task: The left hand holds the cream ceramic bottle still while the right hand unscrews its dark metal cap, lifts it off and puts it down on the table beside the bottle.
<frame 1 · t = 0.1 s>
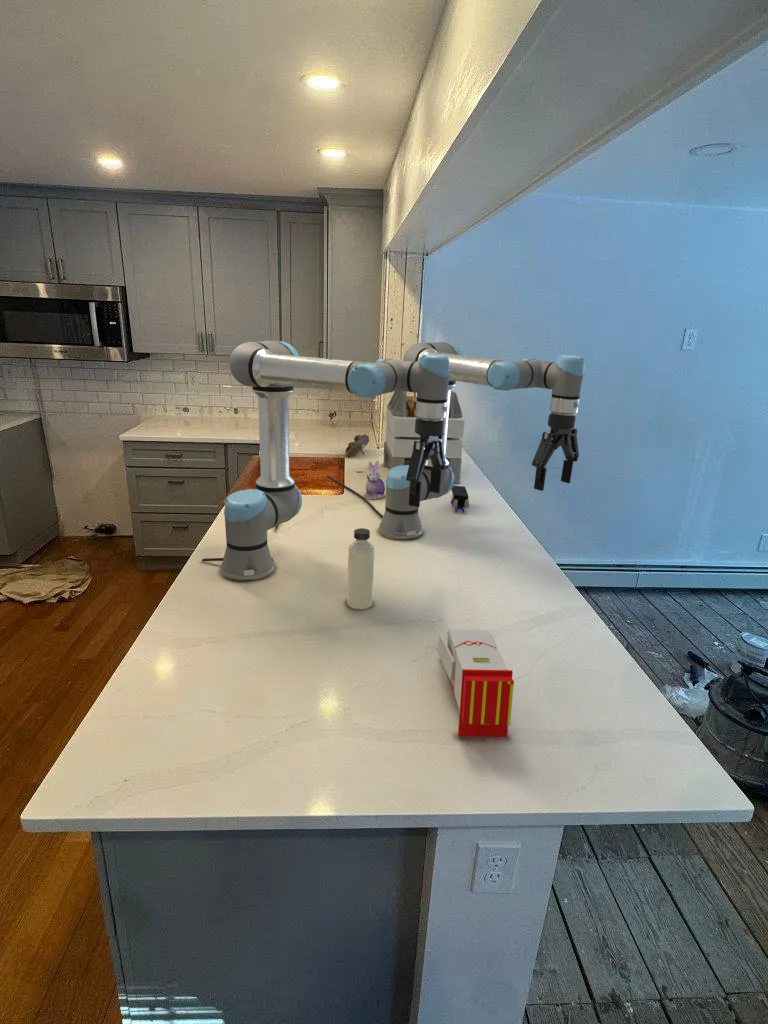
left hand: (424, 498, 149), 28 cm above the counter, tool pointing down, fingers open, 13 cm apart
right hand: (552, 485, 166), 28 cm above the counter, tool pointing down, fingers open, 13 cm apart
bottle: (359, 603, 152), on the counter
figurine character: (458, 508, 229), on the counter
fossil: (356, 453, 306), on the counter
toy: (469, 691, 119), on the counter
figurine: (374, 496, 238), on the counter
transformer: (419, 473, 275), on the counter
feather: (282, 518, 209), on the counter
cap: (362, 532, 145), point 21 cm above the counter, screwed on, not yet turned
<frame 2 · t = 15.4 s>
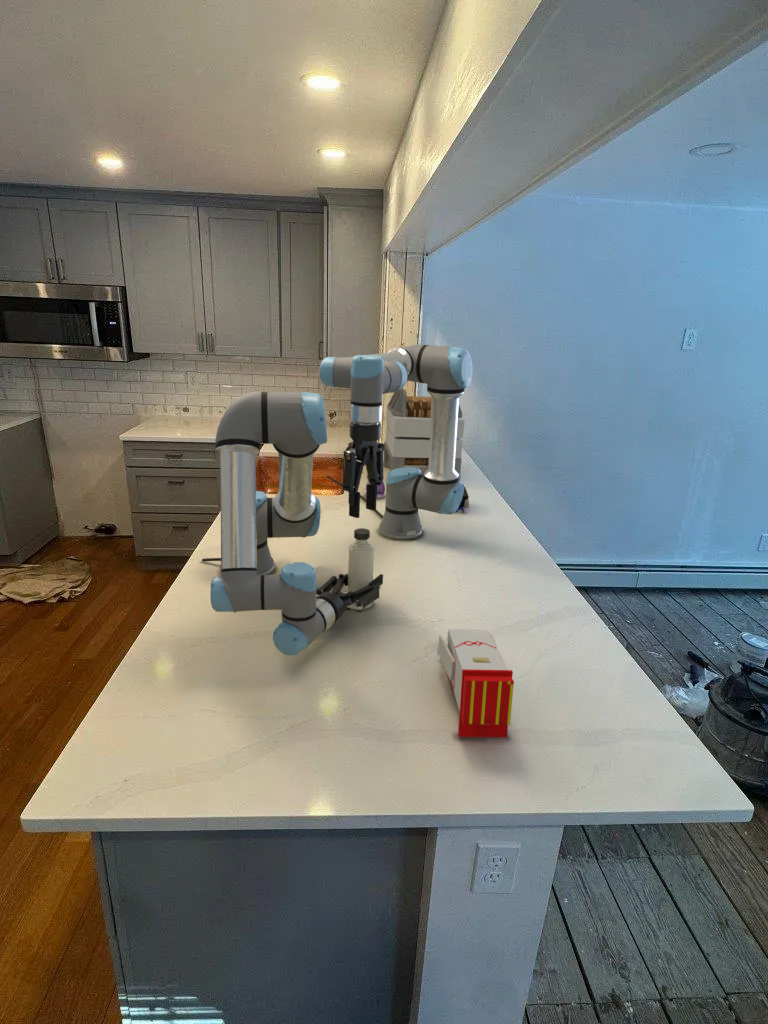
left hand: (369, 575, 154), 6 cm above the counter, tool horizontal, fingers closed on bottle, 7 cm apart
right hand: (362, 512, 143), 26 cm above the counter, tool pointing down, fingers open, 6 cm apart
bottle: (359, 603, 152), on the counter, touching left hand
everything else where it was.
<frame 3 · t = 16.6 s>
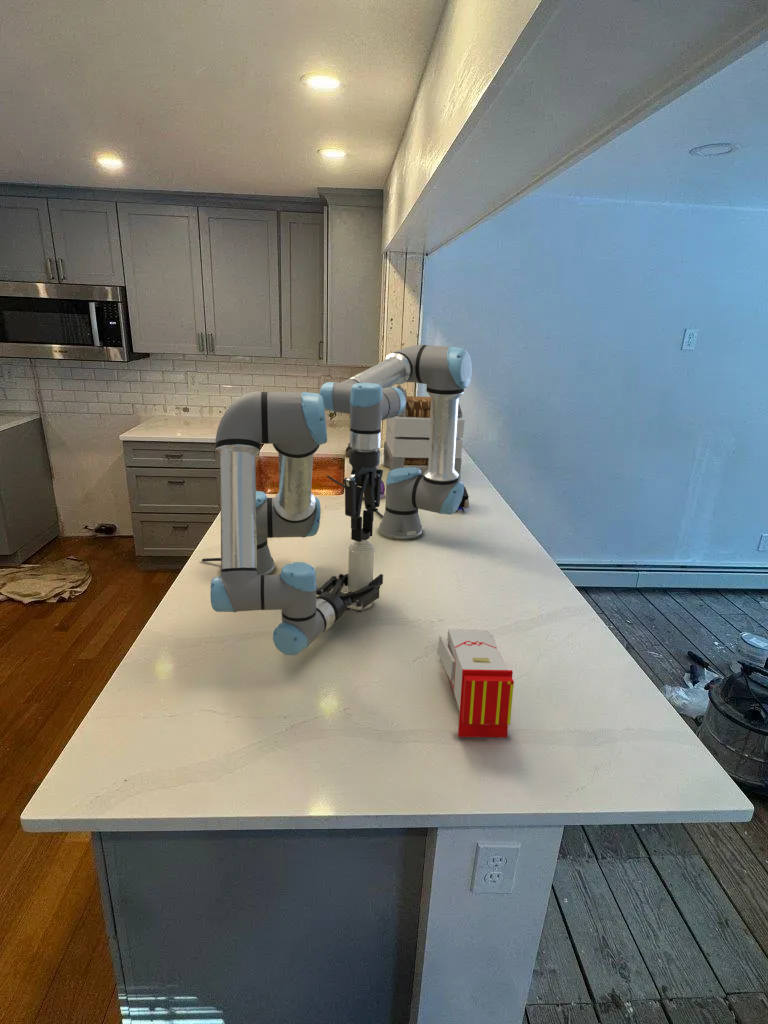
left hand: (369, 575, 154), 6 cm above the counter, tool horizontal, fingers closed on bottle, 7 cm apart
right hand: (361, 537, 146), 19 cm above the counter, tool pointing down, fingers closed on cap, 4 cm apart
bottle: (359, 603, 152), on the counter, touching left hand
cap: (362, 532, 145), point 21 cm above the counter, screwed on, not yet turned, touching right hand
everything else where it was.
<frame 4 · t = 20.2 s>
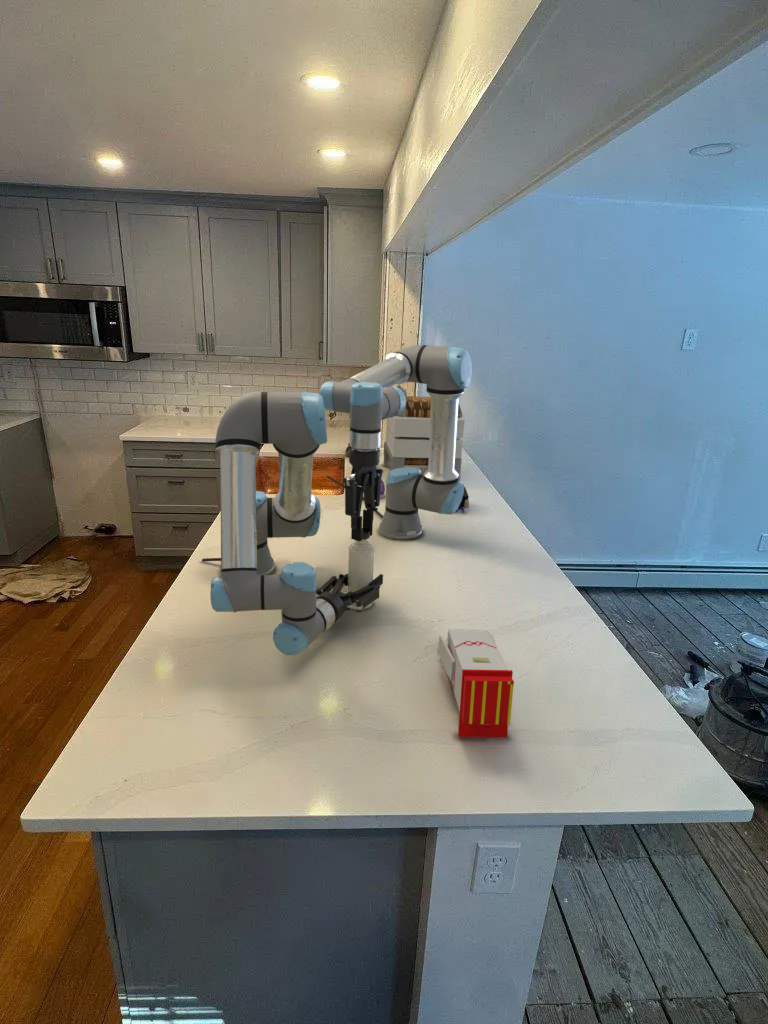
left hand: (369, 575, 154), 6 cm above the counter, tool horizontal, fingers closed on bottle, 7 cm apart
right hand: (361, 536, 146), 19 cm above the counter, tool pointing down, fingers closed on cap, 4 cm apart
bottle: (359, 603, 152), on the counter, touching left hand
cap: (362, 531, 145), point 21 cm above the counter, turned 132° so far, risen 0.1 cm, still on its thread, touching right hand
everything else where it was.
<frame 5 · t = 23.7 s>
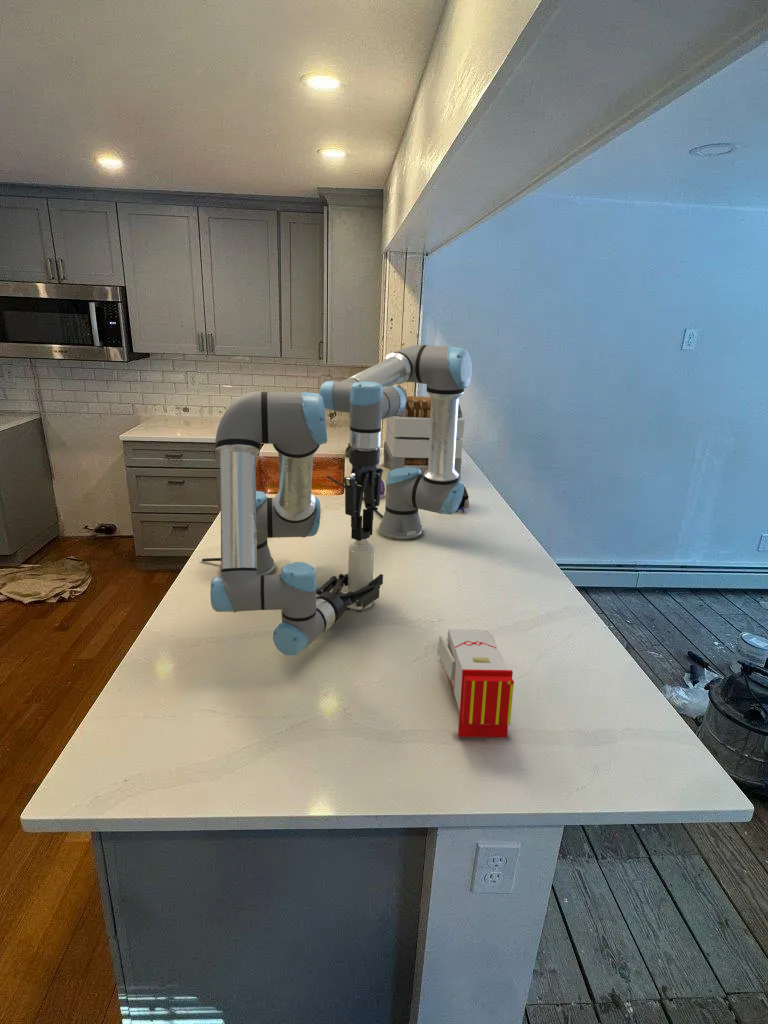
left hand: (369, 575, 154), 6 cm above the counter, tool horizontal, fingers closed on bottle, 7 cm apart
right hand: (361, 536, 145), 19 cm above the counter, tool pointing down, fingers closed on cap, 4 cm apart
bottle: (359, 603, 152), on the counter, touching left hand
cap: (362, 531, 145), point 21 cm above the counter, turned 264° so far, risen 0.3 cm, still on its thread, touching right hand
everything else where it was.
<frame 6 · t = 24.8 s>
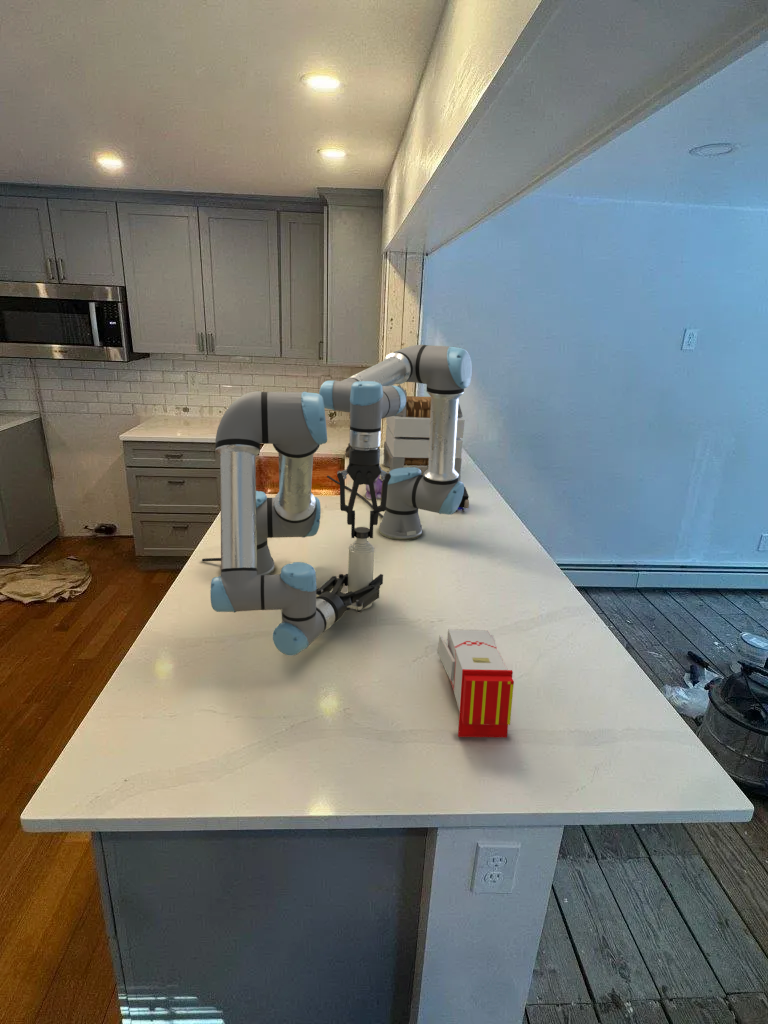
left hand: (369, 575, 154), 6 cm above the counter, tool horizontal, fingers closed on bottle, 7 cm apart
right hand: (361, 535, 145), 19 cm above the counter, tool pointing down, fingers closed on cap, 4 cm apart
bottle: (359, 603, 152), on the counter, touching left hand
cap: (362, 530, 145), point 21 cm above the counter, off its thread, touching right hand
everything else where it was.
when the right hand's fingers open (2 cm above the counter, at t = 31.4 s): cap drops 2 cm, point 1 cm above the counter.
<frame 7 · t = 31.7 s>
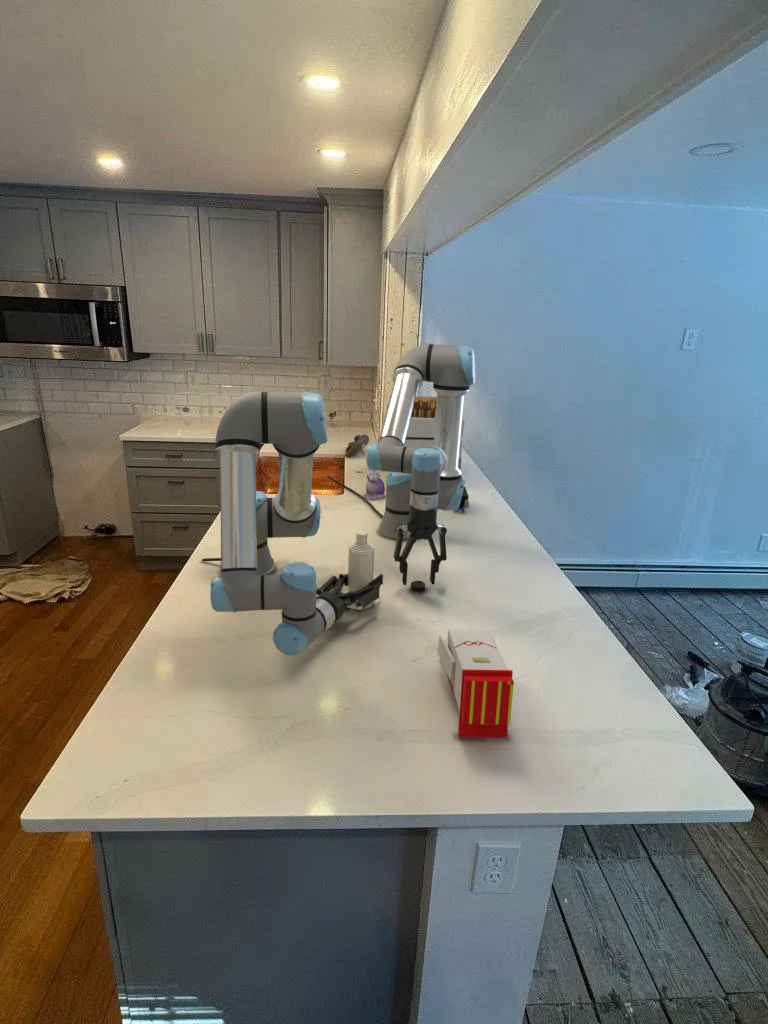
left hand: (369, 575, 154), 6 cm above the counter, tool horizontal, fingers closed on bottle, 7 cm apart
right hand: (418, 582, 161), 2 cm above the counter, tool pointing down, fingers open, 7 cm apart
bottle: (359, 603, 152), on the counter, touching left hand
cap: (418, 584, 161), point 1 cm above the counter, off its thread
everything else where it was.
when the left hand's fingers open (6 cm above the counter, at t = 32.7 s): bottle stays where it is, on the counter.
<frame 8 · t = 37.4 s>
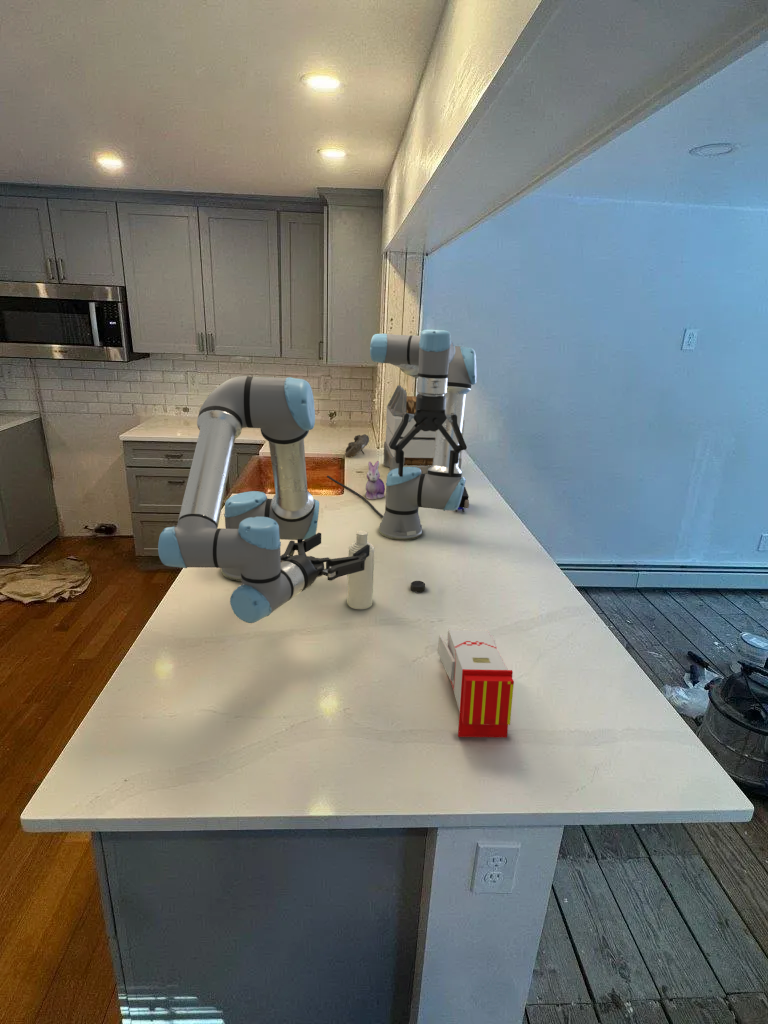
left hand: (343, 543, 137), 21 cm above the counter, tool horizontal, fingers open, 13 cm apart
right hand: (425, 475, 150), 34 cm above the counter, tool pointing down, fingers open, 13 cm apart
bottle: (359, 603, 152), on the counter
everything else where it was.
at the end: cap came off its thread; cap point 1.4 cm above the counter; the left hand is holding nothing; the right hand is holding nothing; bottle tilted 0°; bottle moved 0.0 cm from its start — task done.
